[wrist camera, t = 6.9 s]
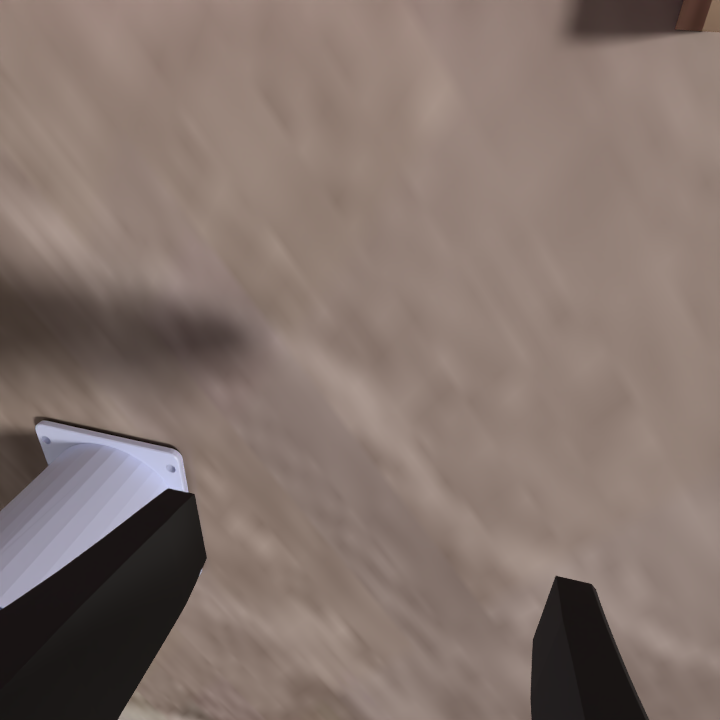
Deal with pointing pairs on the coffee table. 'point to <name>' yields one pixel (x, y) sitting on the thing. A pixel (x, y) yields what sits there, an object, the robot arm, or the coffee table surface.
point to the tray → (699, 16)
